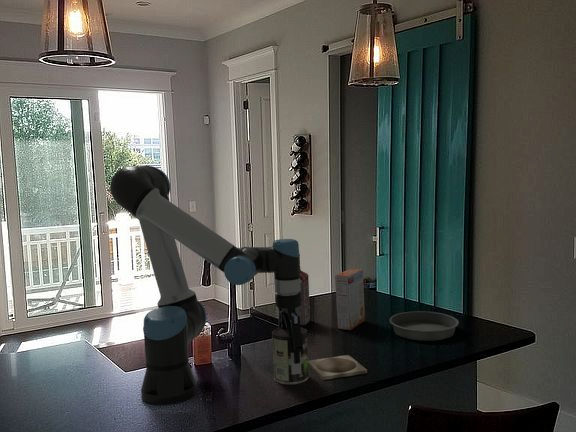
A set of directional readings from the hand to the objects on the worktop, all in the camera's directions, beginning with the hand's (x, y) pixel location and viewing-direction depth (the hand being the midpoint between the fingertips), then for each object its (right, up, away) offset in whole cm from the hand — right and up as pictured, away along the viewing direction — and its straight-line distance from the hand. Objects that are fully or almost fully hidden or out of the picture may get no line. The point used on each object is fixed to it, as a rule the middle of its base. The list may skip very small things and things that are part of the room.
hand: (290, 367), depth 161 cm
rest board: (+14, -2, +6) cm, 15 cm away
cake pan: (+49, +2, +40) cm, 63 cm away
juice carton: (+4, +2, +58) cm, 58 cm away
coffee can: (0, -3, 0) cm, 4 cm away
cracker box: (+24, +2, +51) cm, 56 cm away
